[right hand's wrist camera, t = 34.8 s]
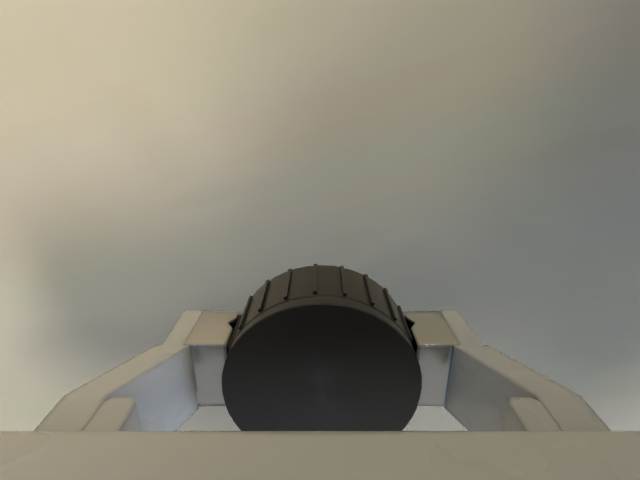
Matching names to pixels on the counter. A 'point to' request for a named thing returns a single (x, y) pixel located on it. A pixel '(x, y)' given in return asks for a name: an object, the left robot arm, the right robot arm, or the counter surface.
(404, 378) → the cap
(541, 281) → the counter surface
